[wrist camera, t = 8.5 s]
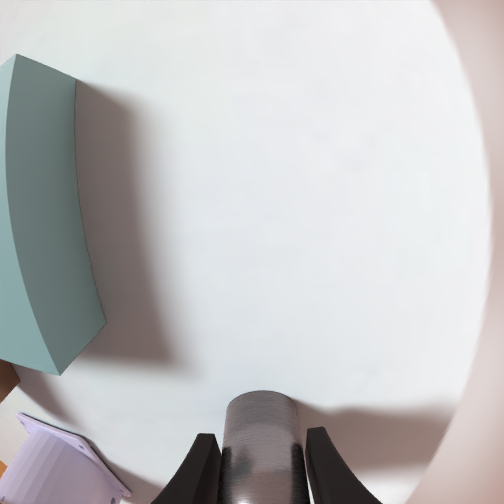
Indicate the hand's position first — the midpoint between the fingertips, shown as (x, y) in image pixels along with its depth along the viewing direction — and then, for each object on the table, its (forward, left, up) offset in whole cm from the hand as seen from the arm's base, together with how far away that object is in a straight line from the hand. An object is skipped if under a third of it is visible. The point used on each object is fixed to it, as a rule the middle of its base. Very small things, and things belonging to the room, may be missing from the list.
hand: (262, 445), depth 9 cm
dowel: (0, 0, -2) cm, 2 cm away
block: (+10, +11, -2) cm, 15 cm away
